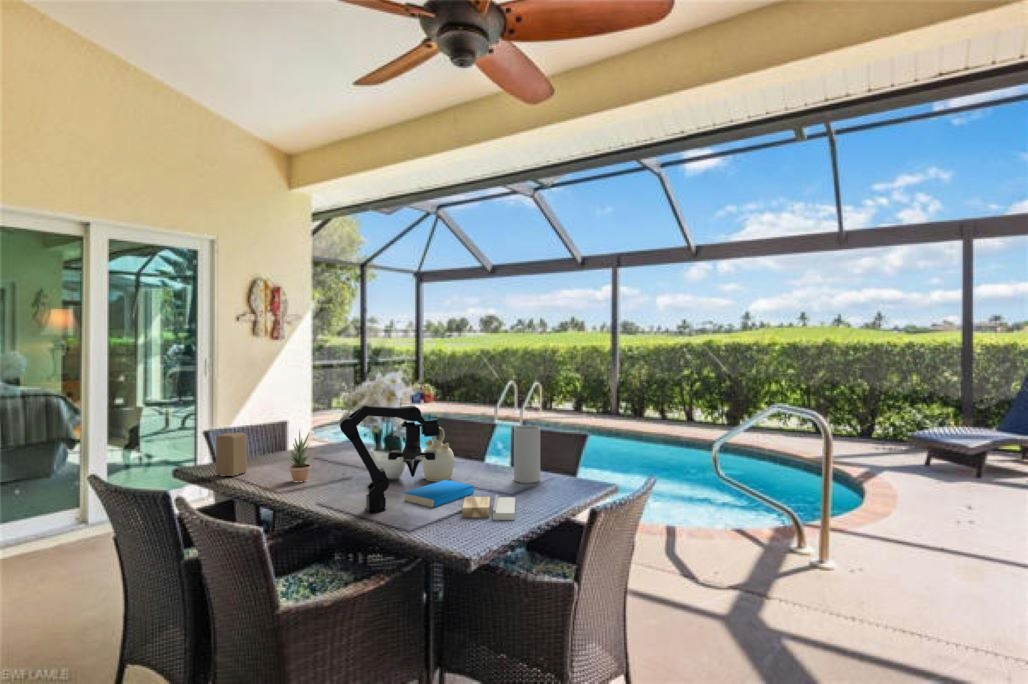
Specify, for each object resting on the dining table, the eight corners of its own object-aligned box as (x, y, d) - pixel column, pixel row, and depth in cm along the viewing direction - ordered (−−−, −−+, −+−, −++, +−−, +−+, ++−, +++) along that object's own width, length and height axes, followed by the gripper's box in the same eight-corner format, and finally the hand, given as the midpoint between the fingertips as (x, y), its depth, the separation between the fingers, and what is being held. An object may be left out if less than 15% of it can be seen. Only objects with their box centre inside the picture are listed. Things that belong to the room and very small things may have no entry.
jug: (416, 478, 264) (416, 426, 264) (444, 473, 274) (444, 423, 274) (431, 484, 252) (431, 430, 252) (460, 479, 262) (460, 427, 262)
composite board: (492, 519, 204) (492, 510, 204) (495, 503, 224) (495, 494, 224) (514, 519, 203) (514, 510, 203) (515, 503, 223) (515, 495, 223)
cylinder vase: (530, 485, 252) (530, 430, 252) (508, 480, 259) (508, 428, 259) (545, 479, 262) (545, 427, 262) (524, 475, 269) (524, 424, 269)
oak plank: (462, 507, 207) (489, 507, 207) (465, 496, 221) (489, 496, 221) (462, 518, 207) (489, 518, 207) (465, 506, 221) (489, 506, 221)
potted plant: (314, 478, 263) (314, 427, 262) (305, 484, 253) (305, 430, 253) (294, 478, 264) (294, 426, 263) (284, 483, 254) (284, 430, 254)
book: (404, 492, 228) (444, 478, 248) (404, 502, 228) (444, 488, 248) (434, 499, 218) (474, 484, 238) (434, 509, 218) (474, 494, 238)
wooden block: (215, 476, 267) (215, 435, 267) (231, 471, 276) (231, 432, 276) (231, 477, 264) (231, 436, 264) (247, 473, 273) (247, 433, 273)
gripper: (384, 441, 211) (384, 481, 211) (432, 441, 211) (432, 481, 211) (391, 436, 222) (391, 474, 223) (437, 436, 222) (437, 474, 222)
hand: (412, 476), depth 219 cm, fingers closed
